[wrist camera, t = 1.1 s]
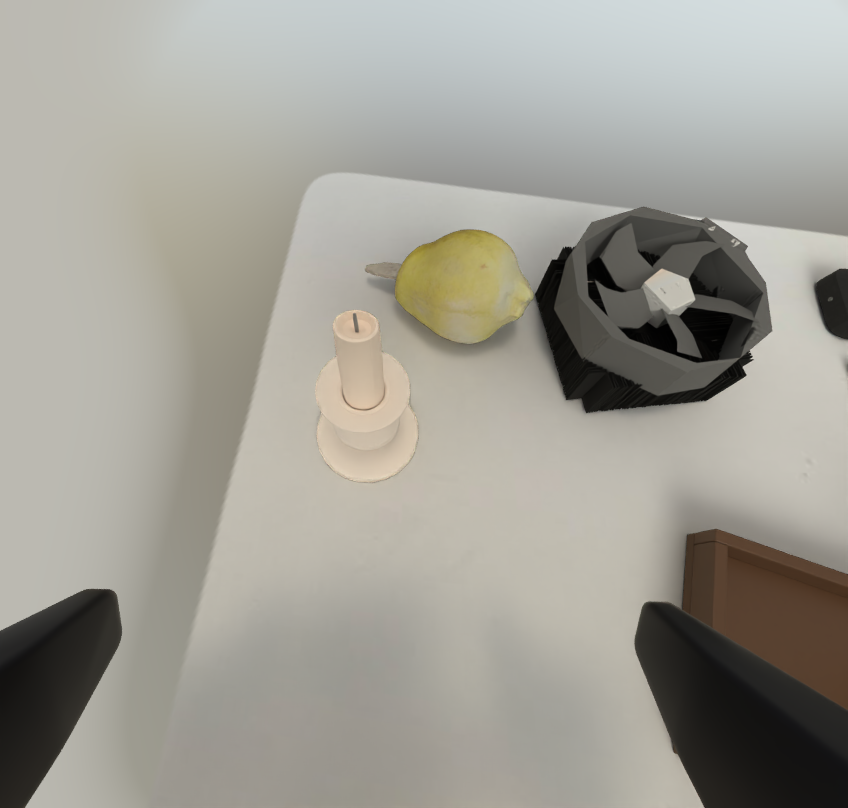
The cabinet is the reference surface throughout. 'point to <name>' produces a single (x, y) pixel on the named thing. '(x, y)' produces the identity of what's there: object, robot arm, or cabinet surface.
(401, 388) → the candle
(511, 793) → the cabinet surface
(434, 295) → the fruit
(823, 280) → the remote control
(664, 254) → the cpu cooler
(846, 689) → the tray
